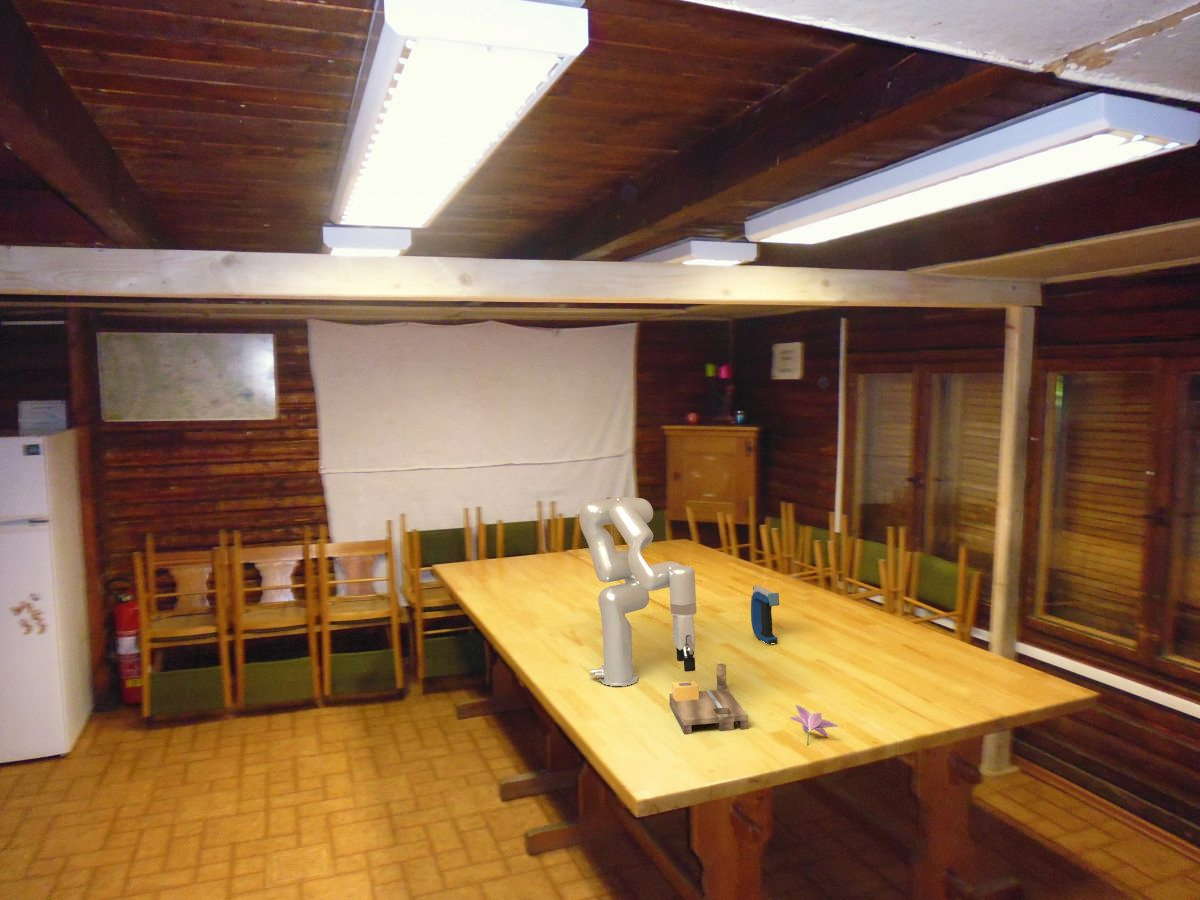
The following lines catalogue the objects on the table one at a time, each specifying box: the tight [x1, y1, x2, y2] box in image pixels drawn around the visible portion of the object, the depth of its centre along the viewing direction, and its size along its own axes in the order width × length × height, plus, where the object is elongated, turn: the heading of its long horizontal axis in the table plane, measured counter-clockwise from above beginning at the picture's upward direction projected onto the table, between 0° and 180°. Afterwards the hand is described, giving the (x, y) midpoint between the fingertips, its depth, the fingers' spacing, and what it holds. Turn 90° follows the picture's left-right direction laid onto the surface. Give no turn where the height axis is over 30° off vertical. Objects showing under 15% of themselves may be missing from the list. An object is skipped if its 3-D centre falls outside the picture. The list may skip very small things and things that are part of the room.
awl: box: [716, 663, 728, 690], centre depth 253 cm, size 3×3×9 cm
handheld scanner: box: [750, 585, 780, 645], centre depth 304 cm, size 5×16×20 cm, turn 15°
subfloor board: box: [669, 688, 749, 735], centre depth 235 cm, size 18×20×4 cm
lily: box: [789, 704, 839, 746], centre depth 218 cm, size 12×12×10 cm
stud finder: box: [671, 680, 699, 701], centre depth 240 cm, size 7×4×4 cm, turn 97°
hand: (686, 665), depth 239 cm, fingers open, 9 cm apart
